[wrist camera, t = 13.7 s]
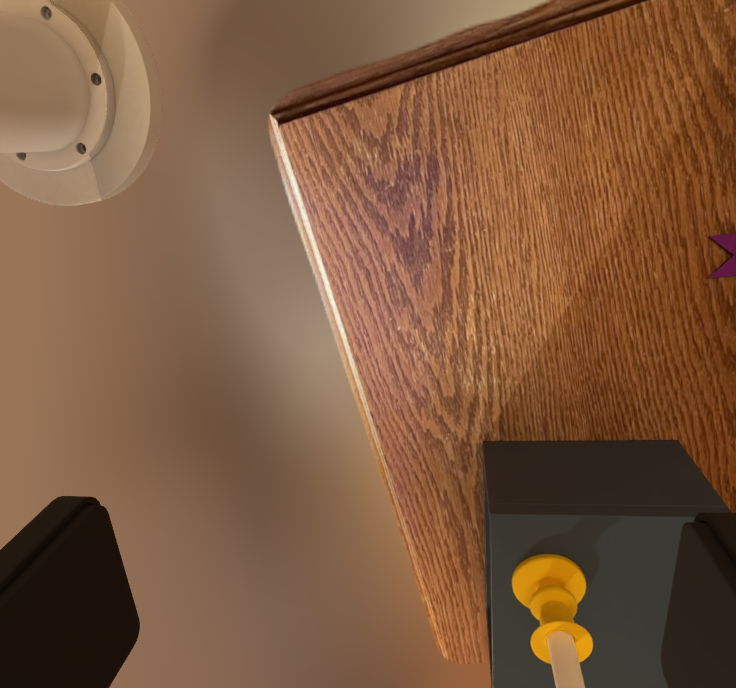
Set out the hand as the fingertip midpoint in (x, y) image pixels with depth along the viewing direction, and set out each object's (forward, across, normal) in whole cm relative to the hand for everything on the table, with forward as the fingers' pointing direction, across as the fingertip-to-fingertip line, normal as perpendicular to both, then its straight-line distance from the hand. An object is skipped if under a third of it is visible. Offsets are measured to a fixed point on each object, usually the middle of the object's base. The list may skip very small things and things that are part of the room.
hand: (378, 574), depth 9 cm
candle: (+26, -8, +25) cm, 37 cm away
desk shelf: (+35, -12, +29) cm, 47 cm away
